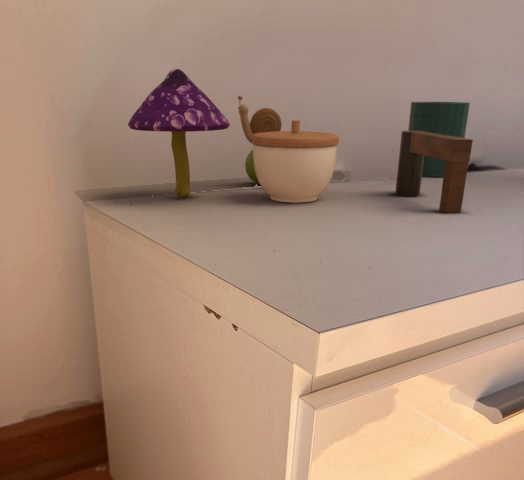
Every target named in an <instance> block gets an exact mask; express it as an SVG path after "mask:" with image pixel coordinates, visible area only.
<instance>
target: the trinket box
mask: <svg viewBox="0 0 524 480" xmlns="http://www.w3.org/2000/svg"><path fill="white" fill-rule="evenodd" d="M300 129H301V120H299V119H293V120H292V119H291V129H290V130H285V131H284V130H280V131H276V132H262V133H256V134H253V136H252V143H253V144H252V143H251V144H252V150H253V160H254V168H255V172H256V176H257V179H258V181H259V183H260V184H259V185H260V186H261V188H262V189H263V191H265V193H267V195H268V196H269V199H270V200H272V201H275V202H281V203H290V204H291V203H295V204H296V203H297V204H298V203H299V204H300V203H310V202H316V201H317V200H318V196H320V195H321V194H322V193H323V192H324V191H325V190H326V189H327V188H328V186H329V184H330V183H331V181H332V178H333V176H334V173H335V169H336V164H337V159H338V145H339V142H340V137H339V135H338V134H336V133H332V132H321V131H308V130H307V131H306V130H305V131H301V130H300Z"/></svg>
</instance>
